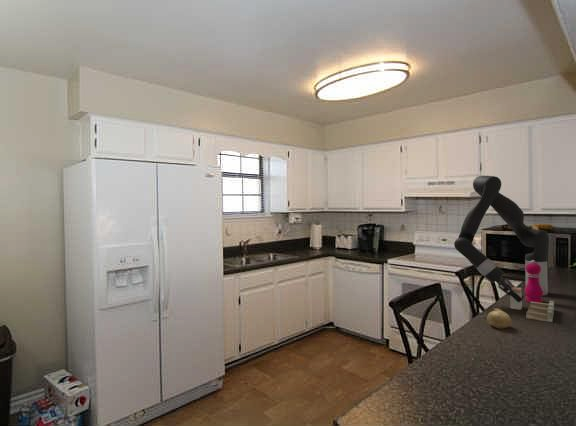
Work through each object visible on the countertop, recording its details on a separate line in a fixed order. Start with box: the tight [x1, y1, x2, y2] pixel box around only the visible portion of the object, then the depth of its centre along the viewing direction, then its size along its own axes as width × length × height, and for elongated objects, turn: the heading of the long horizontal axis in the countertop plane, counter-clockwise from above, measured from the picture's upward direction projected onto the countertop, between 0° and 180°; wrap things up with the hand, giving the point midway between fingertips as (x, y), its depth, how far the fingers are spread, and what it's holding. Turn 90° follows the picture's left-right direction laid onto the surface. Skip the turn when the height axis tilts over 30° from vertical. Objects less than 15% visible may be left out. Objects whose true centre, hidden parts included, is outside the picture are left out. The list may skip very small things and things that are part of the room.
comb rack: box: [525, 300, 555, 323], centre depth 146 cm, size 18×8×4 cm, turn 140°
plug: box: [509, 286, 523, 311], centre depth 155 cm, size 4×4×9 cm
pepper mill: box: [524, 260, 543, 303], centre depth 164 cm, size 7×7×20 cm
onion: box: [486, 307, 512, 330], centre depth 133 cm, size 8×8×7 cm
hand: (521, 299), depth 154 cm, fingers closed on plug, 4 cm apart
